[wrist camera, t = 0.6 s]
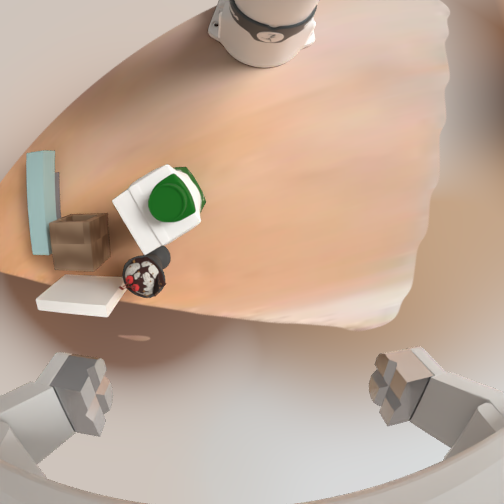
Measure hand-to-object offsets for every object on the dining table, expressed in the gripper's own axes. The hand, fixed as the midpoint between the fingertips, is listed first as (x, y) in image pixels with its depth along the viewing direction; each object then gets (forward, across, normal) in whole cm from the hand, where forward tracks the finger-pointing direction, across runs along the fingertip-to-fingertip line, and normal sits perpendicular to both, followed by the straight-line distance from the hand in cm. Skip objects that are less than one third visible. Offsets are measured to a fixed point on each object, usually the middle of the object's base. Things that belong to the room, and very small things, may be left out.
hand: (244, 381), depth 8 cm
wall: (+44, +26, +15) cm, 53 cm away
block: (+44, +25, +6) cm, 51 cm away
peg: (+42, +33, -1) cm, 53 cm away
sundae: (+44, +12, +10) cm, 47 cm away
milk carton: (+44, +8, -1) cm, 45 cm away
